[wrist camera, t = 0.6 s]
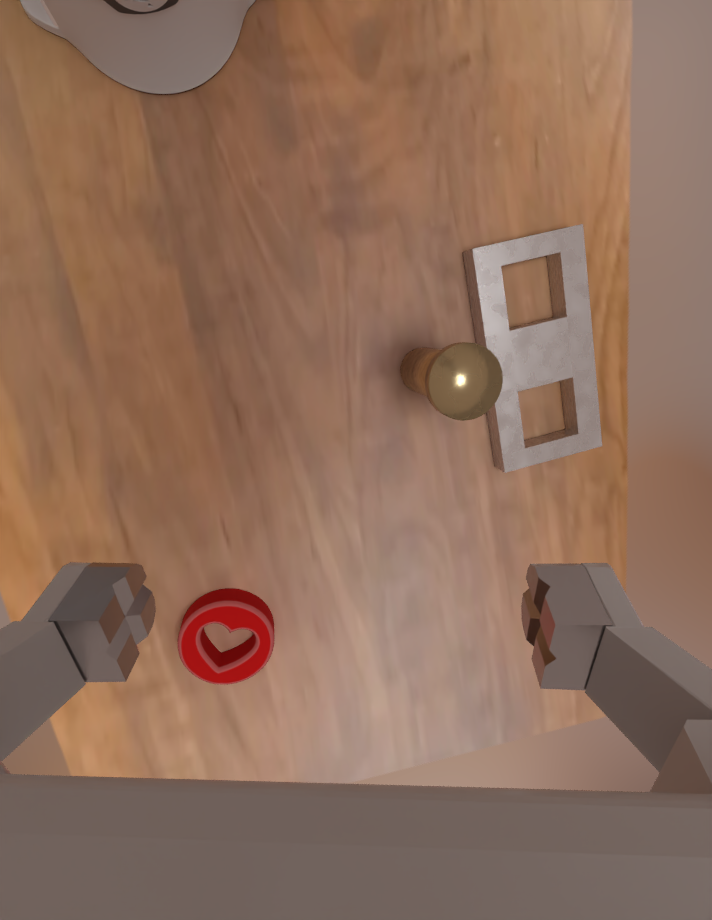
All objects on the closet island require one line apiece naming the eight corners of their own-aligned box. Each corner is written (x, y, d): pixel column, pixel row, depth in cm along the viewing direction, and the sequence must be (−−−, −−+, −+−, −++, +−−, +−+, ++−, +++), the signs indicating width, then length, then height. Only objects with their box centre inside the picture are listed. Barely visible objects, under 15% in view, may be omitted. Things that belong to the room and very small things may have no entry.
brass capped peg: (387, 347, 50) (423, 352, 39) (445, 333, 51) (497, 334, 39) (398, 406, 52) (436, 428, 40) (454, 392, 52) (507, 410, 41)
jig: (462, 252, 49) (472, 248, 47) (567, 228, 50) (582, 223, 48) (494, 466, 55) (504, 472, 53) (587, 440, 56) (602, 446, 54)
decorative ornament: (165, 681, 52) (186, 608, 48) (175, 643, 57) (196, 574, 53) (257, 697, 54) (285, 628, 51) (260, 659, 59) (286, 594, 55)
